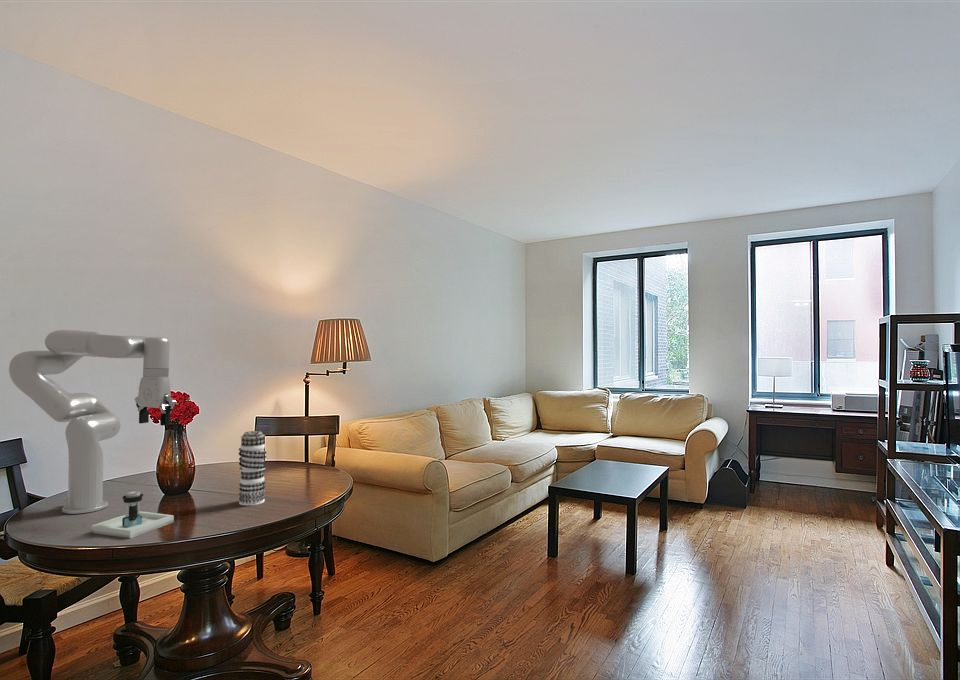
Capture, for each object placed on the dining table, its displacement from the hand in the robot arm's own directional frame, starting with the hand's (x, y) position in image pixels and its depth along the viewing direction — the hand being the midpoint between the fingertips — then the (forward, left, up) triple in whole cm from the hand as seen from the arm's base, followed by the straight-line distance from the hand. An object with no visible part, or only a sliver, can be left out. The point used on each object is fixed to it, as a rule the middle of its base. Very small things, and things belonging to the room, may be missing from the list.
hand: (154, 423), depth 184 cm
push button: (+10, -15, -29) cm, 34 cm away
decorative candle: (+25, +18, -29) cm, 43 cm away
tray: (+10, -15, -29) cm, 34 cm away
